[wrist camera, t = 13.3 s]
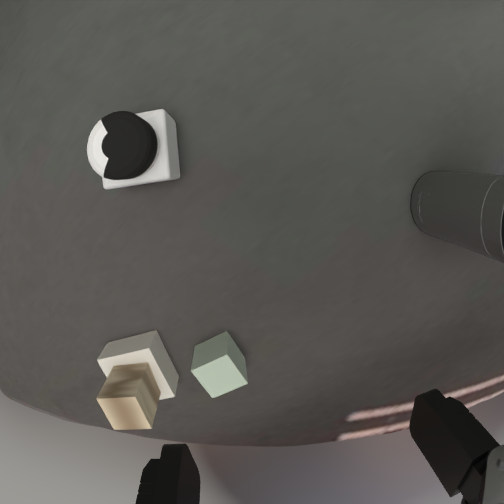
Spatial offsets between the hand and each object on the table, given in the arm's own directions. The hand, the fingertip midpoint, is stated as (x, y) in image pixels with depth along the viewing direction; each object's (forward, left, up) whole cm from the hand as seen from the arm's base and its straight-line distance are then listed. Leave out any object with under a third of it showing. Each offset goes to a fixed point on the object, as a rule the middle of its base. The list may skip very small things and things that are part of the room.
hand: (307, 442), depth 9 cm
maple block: (+17, +14, -25) cm, 34 cm away
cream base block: (+17, +14, -30) cm, 38 cm away
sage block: (+6, +14, -30) cm, 34 cm away
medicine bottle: (+10, -13, -30) cm, 34 cm away
